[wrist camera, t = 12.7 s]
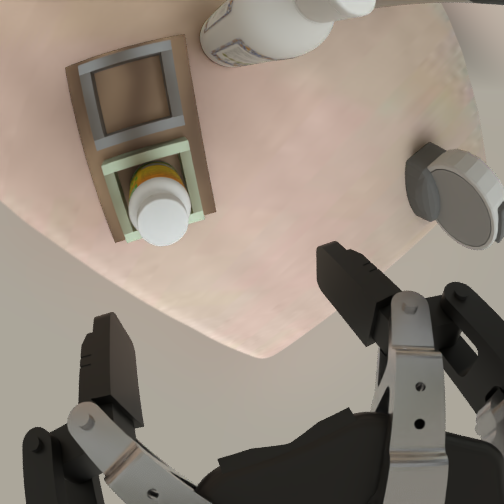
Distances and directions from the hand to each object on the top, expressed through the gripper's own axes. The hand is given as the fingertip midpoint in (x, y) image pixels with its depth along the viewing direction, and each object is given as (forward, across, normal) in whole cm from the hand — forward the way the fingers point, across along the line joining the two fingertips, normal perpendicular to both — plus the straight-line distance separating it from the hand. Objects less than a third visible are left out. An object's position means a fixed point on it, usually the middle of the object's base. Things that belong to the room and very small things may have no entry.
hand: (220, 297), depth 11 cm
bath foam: (+24, -9, -12) cm, 28 cm away
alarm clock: (+24, -40, +12) cm, 49 cm away
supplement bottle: (+22, +2, +2) cm, 22 cm away
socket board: (+23, +2, -3) cm, 23 cm away
